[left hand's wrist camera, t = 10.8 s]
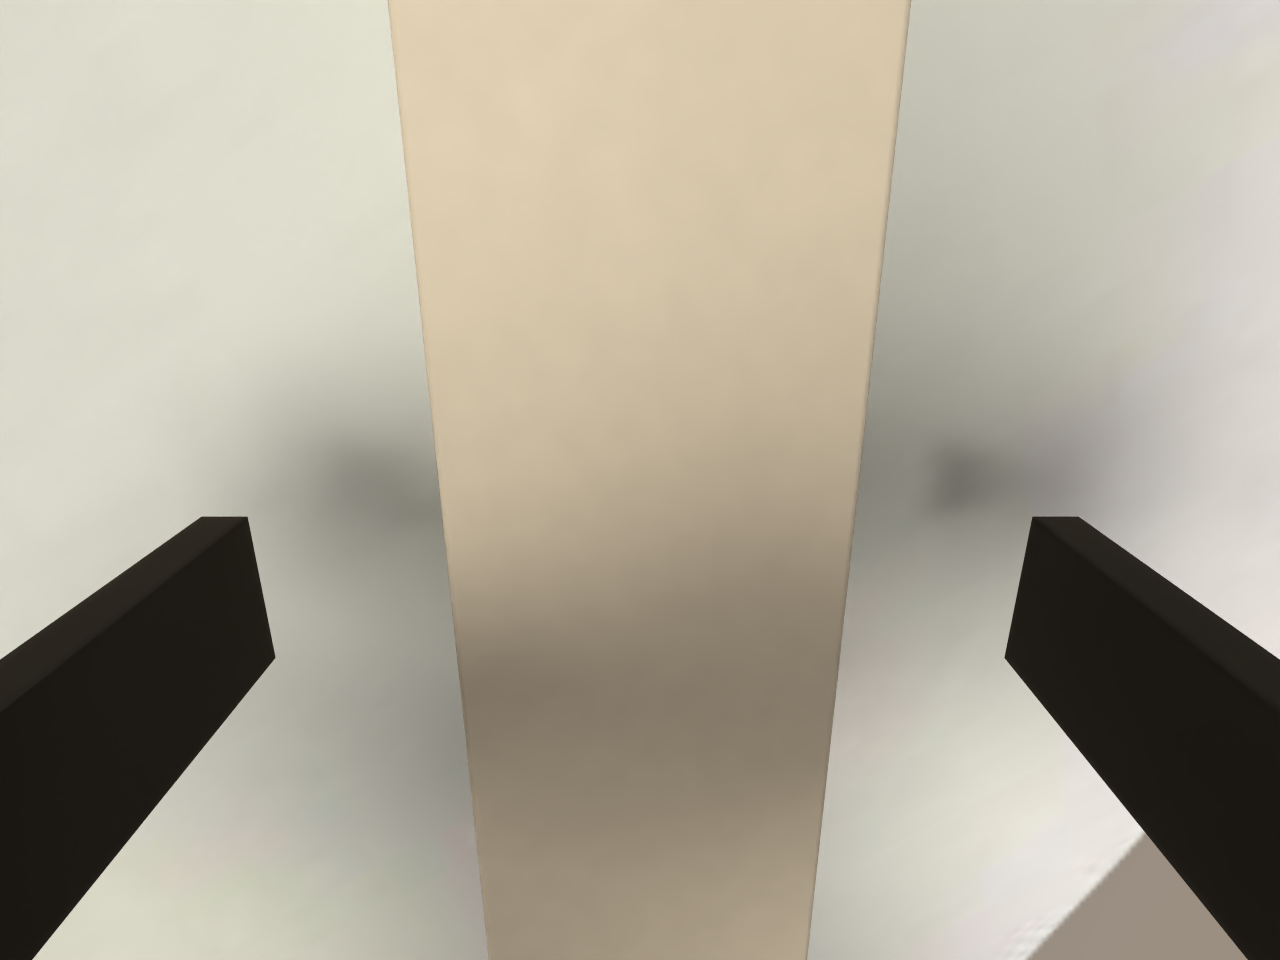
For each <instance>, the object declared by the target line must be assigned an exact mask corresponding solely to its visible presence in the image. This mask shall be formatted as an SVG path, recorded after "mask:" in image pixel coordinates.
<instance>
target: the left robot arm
mask: <svg viewBox="0 0 1280 960" xmlns="http://www.w3.org/2000/svg"><path fill="white" fill-rule="evenodd" d="M274 659H275V653H274V648H273V643H272V638H271V633H270V628H269V623H268V618H267V613H266V608H265V603H264V598H263V593H262V587H261V582H260V577H259V572H258V567H257V562H256V557H255V552H254V547H253V542H252V537H251V532H250V527H249V522H248V517H201V518H199V519H198V520H196V521H195V522H193V523H192V524H191V525H189V526H188V527H186V528H185V529H184V530H182V531H181V532H179V533H178V534H177V535H175V536H174V537H172V538H171V539H170V540H168V541H167V542H165V543H164V544H162V545H161V546H160V547H158V548H157V549H155V550H154V551H153V552H151V553H150V554H148V555H147V556H146V557H144V558H143V559H141V560H140V561H139V562H137V563H136V564H134V565H133V566H132V567H130V568H129V569H127V570H126V571H124V572H123V573H122V574H120V575H119V576H117V577H116V578H115V579H113V580H112V581H110V582H109V583H108V584H106V585H105V586H103V587H102V588H101V589H99V590H98V591H96V592H95V593H93V594H92V595H91V596H89V597H88V598H86V599H85V600H84V601H82V602H81V603H79V604H78V605H77V606H75V607H74V608H72V609H71V610H70V611H68V612H67V613H65V614H64V615H62V616H61V617H60V618H58V619H57V620H55V621H54V622H53V623H51V624H50V625H48V626H47V627H46V628H44V629H43V630H41V631H40V632H39V633H37V634H36V635H34V636H33V637H32V638H30V639H29V640H27V641H26V642H24V643H23V644H22V645H20V646H19V647H17V648H16V649H15V650H13V651H12V652H10V653H9V654H8V655H6V656H5V657H3V658H2V659H1V660H0V960H32V959H33V958H34V957H35V956H36V954H37V953H38V952H39V951H40V949H41V948H42V947H43V946H44V944H45V943H46V942H47V941H48V939H49V938H50V937H51V936H52V934H53V933H54V932H55V931H56V929H57V928H58V927H59V926H60V924H61V923H62V922H63V921H64V920H65V918H66V917H67V916H68V915H69V913H70V912H71V911H72V910H73V908H74V907H75V906H76V905H77V903H78V902H79V901H80V900H81V898H82V897H83V896H84V895H85V893H86V892H87V891H88V890H89V889H90V887H91V886H92V885H93V884H94V882H95V881H96V880H97V879H98V877H99V876H100V875H101V874H102V872H103V871H104V870H105V869H106V867H107V866H108V865H109V864H110V862H111V861H112V860H113V859H114V857H115V856H116V855H117V854H118V853H119V851H120V850H121V849H122V848H123V846H124V845H125V844H126V843H127V841H128V840H129V839H130V838H131V836H132V835H133V834H134V833H135V831H136V830H137V829H138V828H139V826H140V825H141V824H142V823H143V821H144V820H145V819H146V818H147V817H148V815H149V814H150V813H151V812H152V810H153V809H154V808H155V807H156V805H157V804H158V803H159V802H160V800H161V799H162V798H163V797H164V795H165V794H166V793H167V792H168V790H169V789H170V788H171V787H172V786H173V784H174V783H175V782H176V781H177V779H178V778H179V777H180V776H181V774H182V773H183V772H184V771H185V769H186V768H187V767H188V766H189V764H190V763H191V762H192V761H193V759H194V758H195V757H196V756H197V754H198V753H199V752H200V751H201V750H202V748H203V747H204V746H205V745H206V743H207V742H208V741H209V740H210V738H211V737H212V736H213V735H214V733H215V732H216V731H217V730H218V728H219V727H220V726H221V725H222V723H223V722H224V721H225V720H226V719H227V717H228V716H229V715H230V714H231V712H232V711H233V710H234V709H235V707H236V706H237V705H238V704H239V702H240V701H241V700H242V699H243V697H244V696H245V695H246V694H247V692H248V691H249V690H250V689H251V687H252V686H253V685H254V684H255V683H256V681H257V680H258V679H259V678H260V676H261V675H262V674H263V673H264V671H265V670H266V669H267V668H268V666H269V665H270V664H271V663H272V661H273V660H274ZM1005 659H1006V660H1007V661H1008V663H1009V664H1010V665H1011V666H1012V668H1013V669H1014V670H1015V671H1016V673H1017V674H1018V675H1019V676H1020V678H1021V679H1022V680H1023V681H1024V683H1025V684H1026V685H1027V686H1028V687H1029V689H1030V690H1031V691H1032V692H1033V694H1034V695H1035V696H1036V697H1037V699H1038V700H1039V701H1040V702H1041V704H1042V705H1043V706H1044V707H1045V709H1046V710H1047V711H1048V712H1049V714H1050V715H1051V716H1052V717H1053V719H1054V720H1055V721H1056V722H1057V723H1058V725H1059V726H1060V727H1061V728H1062V730H1063V731H1064V732H1065V733H1066V735H1067V736H1068V737H1069V738H1070V740H1071V741H1072V742H1073V743H1074V745H1075V746H1076V747H1077V748H1078V750H1079V751H1080V752H1081V753H1082V754H1083V756H1084V757H1085V758H1086V759H1087V761H1088V762H1089V763H1090V764H1091V766H1092V767H1093V768H1094V769H1095V771H1096V772H1097V773H1098V774H1099V776H1100V777H1101V778H1102V779H1103V781H1104V782H1105V783H1106V784H1107V786H1108V787H1109V788H1110V789H1111V790H1112V792H1113V793H1114V794H1115V795H1116V797H1117V798H1118V799H1119V800H1120V802H1121V803H1122V804H1123V805H1124V807H1125V808H1126V809H1127V810H1128V812H1129V813H1130V814H1131V815H1132V817H1133V818H1134V819H1135V820H1136V822H1137V823H1138V824H1139V825H1140V826H1141V828H1142V829H1143V830H1144V831H1145V833H1146V834H1147V835H1148V836H1149V838H1150V839H1151V840H1152V841H1153V843H1154V844H1155V845H1156V846H1157V848H1158V849H1159V850H1160V851H1161V852H1162V854H1163V855H1164V856H1165V857H1166V859H1167V860H1168V861H1169V862H1170V864H1171V865H1172V866H1173V867H1174V869H1175V870H1176V871H1177V872H1178V873H1179V875H1180V876H1181V877H1182V879H1183V880H1184V881H1185V882H1186V884H1187V885H1188V886H1189V887H1190V889H1191V890H1192V891H1193V892H1194V893H1195V895H1196V896H1197V897H1198V898H1199V900H1200V901H1201V902H1202V903H1203V905H1204V906H1205V907H1206V908H1207V910H1208V911H1209V912H1210V913H1211V915H1212V916H1213V917H1214V918H1215V920H1216V921H1217V922H1218V923H1219V924H1220V926H1221V927H1222V928H1223V929H1224V931H1225V932H1226V933H1227V934H1228V936H1229V937H1230V938H1231V939H1232V940H1233V942H1234V943H1235V944H1236V946H1237V947H1238V948H1239V949H1240V951H1241V952H1242V953H1243V954H1244V955H1245V957H1246V958H1247V959H1248V960H1280V660H1279V659H1278V658H1277V657H1275V656H1274V655H1272V654H1271V653H1270V652H1268V651H1267V650H1265V649H1264V648H1263V647H1261V646H1260V645H1258V644H1257V643H1256V642H1254V641H1253V640H1251V639H1250V638H1248V637H1247V636H1246V635H1244V634H1243V633H1241V632H1240V631H1239V630H1237V629H1236V628H1234V627H1233V626H1232V625H1230V624H1229V623H1227V622H1226V621H1225V620H1223V619H1222V618H1220V617H1219V616H1218V615H1216V614H1215V613H1213V612H1212V611H1210V610H1209V609H1208V608H1206V607H1205V606H1203V605H1202V604H1201V603H1199V602H1198V601H1196V600H1195V599H1194V598H1192V597H1191V596H1189V595H1188V594H1187V593H1185V592H1184V591H1182V590H1181V589H1179V588H1178V587H1177V586H1175V585H1174V584H1172V583H1171V582H1170V581H1168V580H1167V579H1165V578H1164V577H1163V576H1161V575H1160V574H1158V573H1157V572H1156V571H1154V570H1153V569H1151V568H1150V567H1148V566H1147V565H1146V564H1144V563H1143V562H1141V561H1140V560H1139V559H1137V558H1136V557H1134V556H1133V555H1132V554H1130V553H1129V552H1127V551H1126V550H1125V549H1123V548H1122V547H1120V546H1119V545H1118V544H1116V543H1115V542H1113V541H1112V540H1110V539H1109V538H1108V537H1106V536H1105V535H1103V534H1102V533H1101V532H1099V531H1098V530H1096V529H1095V528H1094V527H1092V526H1091V525H1089V524H1088V523H1087V522H1085V521H1084V520H1082V519H1081V518H1079V517H1032V522H1031V527H1030V532H1029V537H1028V542H1027V547H1026V552H1025V557H1024V562H1023V567H1022V572H1021V577H1020V582H1019V587H1018V593H1017V598H1016V603H1015V608H1014V613H1013V618H1012V623H1011V628H1010V633H1009V638H1008V643H1007V648H1006V653H1005Z"/></svg>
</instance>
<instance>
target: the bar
mask: <svg viewBox="0 0 1280 960" xmlns="http://www.w3.org/2000/svg"><path fill="white" fill-rule="evenodd" d="M910 6H911V0H388V7H389V16H390V26H391V35H392V45H393V54H394V64H395V73H396V83H397V92H398V102H399V111H400V121H401V130H402V140H403V149H404V159H405V168H406V177H407V187H408V196H409V206H410V215H411V225H412V234H413V244H414V253H415V263H416V272H417V282H418V291H419V301H420V310H421V320H422V329H423V339H424V348H425V358H426V367H427V376H428V386H429V395H430V405H431V414H432V424H433V433H434V443H435V452H436V462H437V471H438V481H439V490H440V500H441V509H442V519H443V528H444V538H445V547H446V557H447V566H448V576H449V585H450V594H451V604H452V613H453V623H454V632H455V642H456V651H457V661H458V670H459V680H460V689H461V699H462V708H463V718H464V727H465V737H466V746H467V756H468V765H469V774H470V784H471V793H472V803H473V812H474V822H475V831H476V841H477V850H478V860H479V869H480V879H481V888H482V898H483V907H484V917H485V926H486V936H487V945H488V955H489V960H807V954H808V945H809V936H810V927H811V917H812V908H813V899H814V890H815V881H816V871H817V862H818V853H819V844H820V834H821V825H822V816H823V807H824V798H825V788H826V779H827V770H828V761H829V752H830V742H831V733H832V724H833V715H834V706H835V696H836V687H837V678H838V669H839V660H840V650H841V641H842V632H843V623H844V614H845V604H846V595H847V586H848V577H849V568H850V558H851V549H852V540H853V531H854V522H855V512H856V503H857V494H858V485H859V475H860V466H861V457H862V448H863V439H864V429H865V420H866V411H867V402H868V393H869V383H870V374H871V365H872V356H873V347H874V337H875V328H876V319H877V310H878V301H879V291H880V282H881V273H882V264H883V255H884V245H885V236H886V227H887V218H888V209H889V199H890V190H891V181H892V172H893V162H894V153H895V144H896V135H897V126H898V116H899V107H900V98H901V89H902V80H903V70H904V61H905V52H906V43H907V34H908V24H909V15H910Z"/></svg>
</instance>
